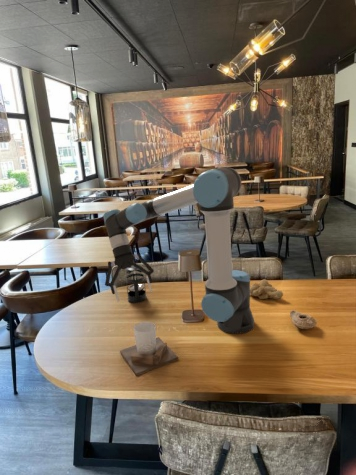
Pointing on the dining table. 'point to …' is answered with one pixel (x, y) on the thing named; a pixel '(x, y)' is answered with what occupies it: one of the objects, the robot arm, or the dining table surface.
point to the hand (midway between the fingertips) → (135, 296)
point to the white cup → (145, 337)
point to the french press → (135, 286)
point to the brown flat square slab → (148, 357)
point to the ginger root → (265, 290)
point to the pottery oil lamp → (302, 320)
